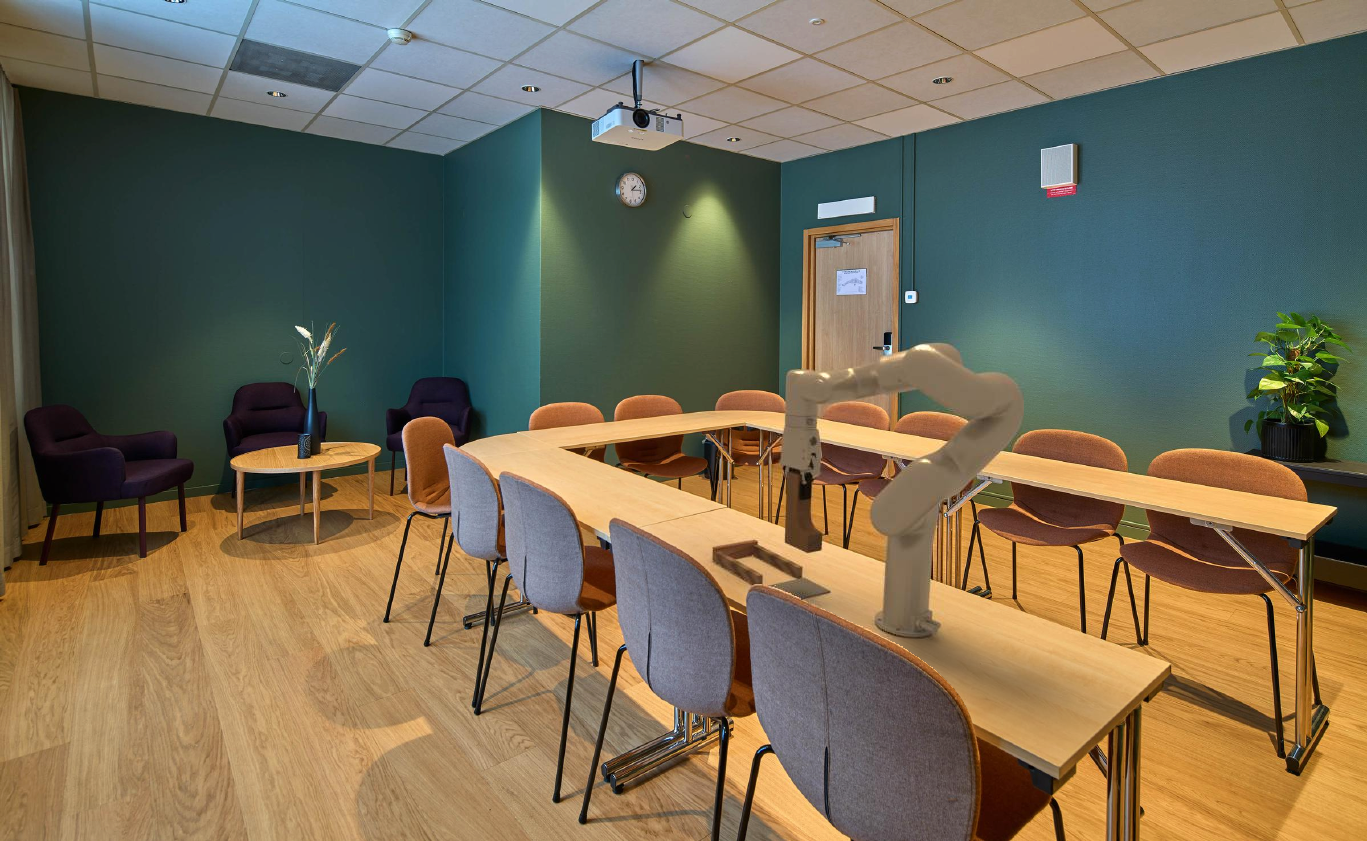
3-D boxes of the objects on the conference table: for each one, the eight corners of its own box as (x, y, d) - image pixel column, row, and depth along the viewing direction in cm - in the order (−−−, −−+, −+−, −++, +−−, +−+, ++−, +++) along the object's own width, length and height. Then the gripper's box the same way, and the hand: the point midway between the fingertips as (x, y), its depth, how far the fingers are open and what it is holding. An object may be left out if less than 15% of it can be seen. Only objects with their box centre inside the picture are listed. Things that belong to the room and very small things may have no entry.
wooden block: (822, 551, 167) (825, 476, 164) (807, 553, 165) (810, 478, 162) (798, 540, 175) (800, 469, 172) (783, 543, 173) (786, 471, 170)
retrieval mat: (830, 592, 173) (830, 590, 172) (784, 603, 166) (784, 601, 166) (804, 579, 181) (804, 577, 181) (759, 588, 174) (759, 587, 174)
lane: (802, 577, 182) (802, 563, 181) (757, 587, 175) (757, 572, 175) (754, 553, 201) (754, 539, 200) (712, 561, 194) (712, 547, 193)
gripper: (837, 425, 162) (833, 503, 164) (791, 416, 176) (789, 487, 179) (811, 428, 158) (808, 507, 161) (766, 418, 173) (764, 490, 175)
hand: (798, 495), depth 170 cm, fingers closed on wooden block, 4 cm apart
